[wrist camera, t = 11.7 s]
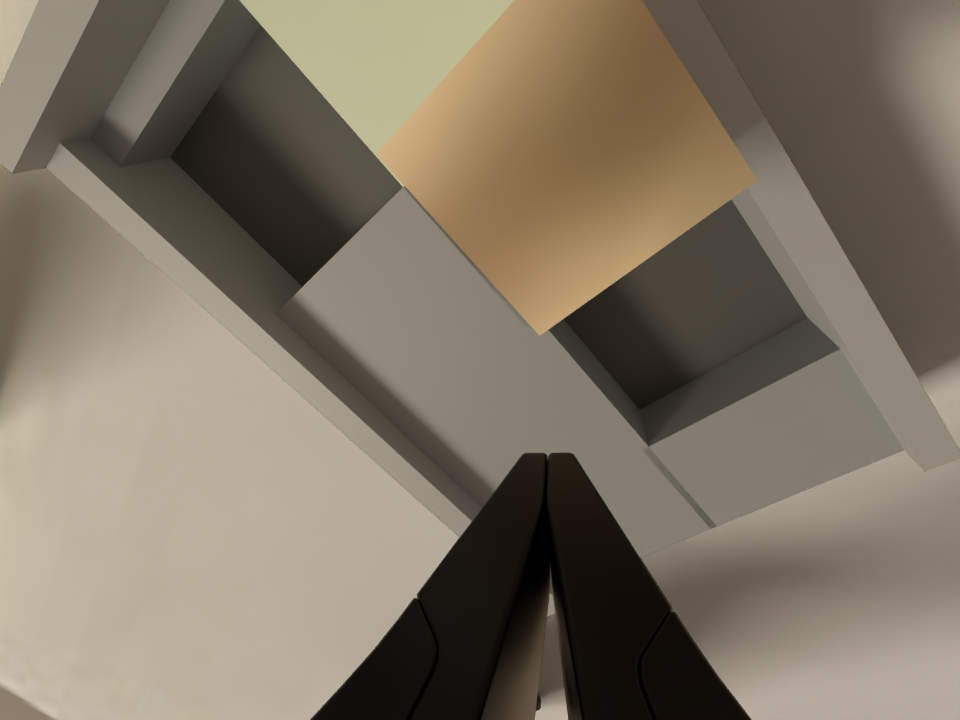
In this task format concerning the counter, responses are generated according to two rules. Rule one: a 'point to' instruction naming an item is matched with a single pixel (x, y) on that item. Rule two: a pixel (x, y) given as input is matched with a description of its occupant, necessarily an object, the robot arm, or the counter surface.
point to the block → (566, 152)
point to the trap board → (463, 263)
